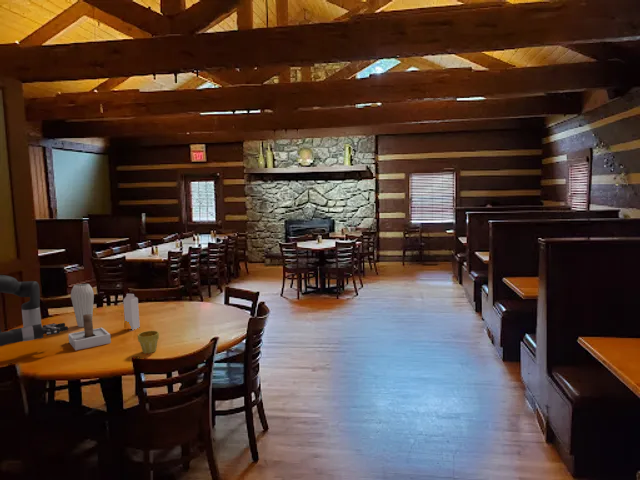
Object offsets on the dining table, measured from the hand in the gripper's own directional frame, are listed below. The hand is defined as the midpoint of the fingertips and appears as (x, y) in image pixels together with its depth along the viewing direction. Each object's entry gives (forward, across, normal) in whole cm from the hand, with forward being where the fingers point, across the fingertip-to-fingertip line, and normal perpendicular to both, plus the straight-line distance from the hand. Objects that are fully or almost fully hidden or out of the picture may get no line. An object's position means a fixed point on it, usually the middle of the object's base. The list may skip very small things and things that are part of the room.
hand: (66, 326), depth 259 cm
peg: (+11, 0, +12) cm, 16 cm away
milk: (+38, +11, +12) cm, 41 cm away
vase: (+17, +41, +12) cm, 46 cm away
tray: (+11, 0, +12) cm, 16 cm away
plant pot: (+32, -39, +12) cm, 52 cm away
